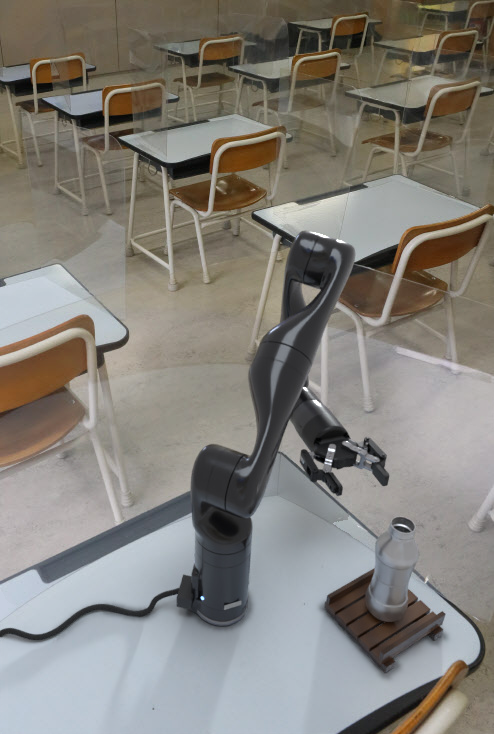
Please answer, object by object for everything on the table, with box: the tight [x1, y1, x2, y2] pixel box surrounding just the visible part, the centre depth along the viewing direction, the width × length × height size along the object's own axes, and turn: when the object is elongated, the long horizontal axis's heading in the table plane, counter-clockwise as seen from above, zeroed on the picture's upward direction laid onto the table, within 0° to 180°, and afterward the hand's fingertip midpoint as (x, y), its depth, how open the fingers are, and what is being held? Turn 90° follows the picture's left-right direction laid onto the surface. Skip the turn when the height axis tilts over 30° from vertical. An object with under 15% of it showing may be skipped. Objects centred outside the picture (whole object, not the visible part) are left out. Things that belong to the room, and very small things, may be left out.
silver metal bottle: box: [365, 515, 420, 622], centre depth 109 cm, size 6×7×20 cm
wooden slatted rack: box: [323, 567, 446, 674], centre depth 114 cm, size 14×14×4 cm
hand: (363, 487), depth 115 cm, fingers open, 8 cm apart
